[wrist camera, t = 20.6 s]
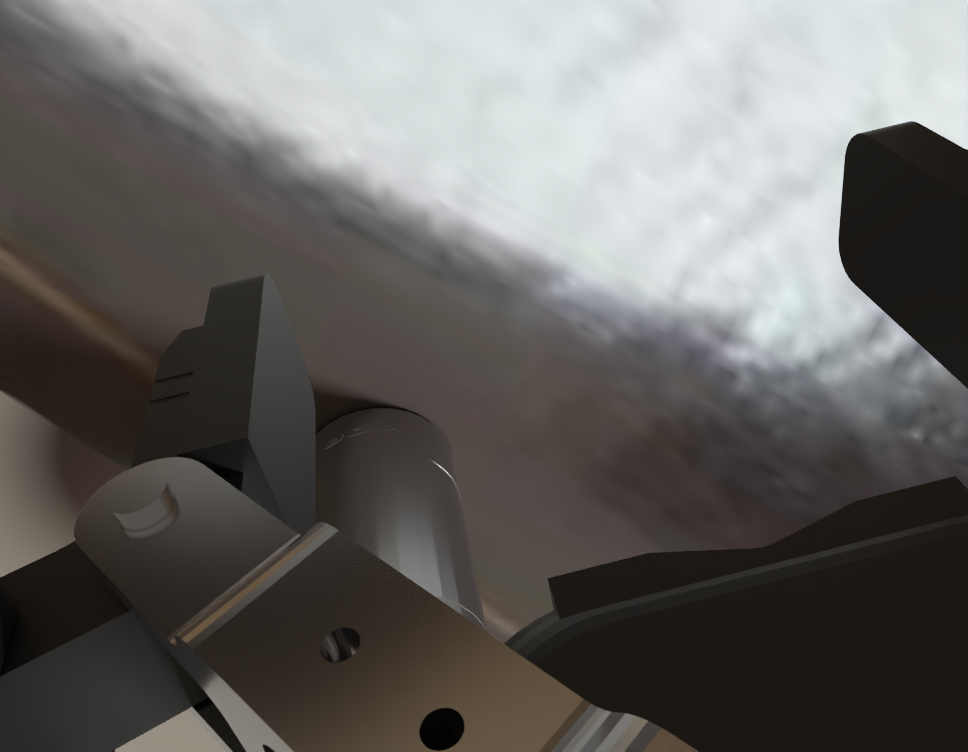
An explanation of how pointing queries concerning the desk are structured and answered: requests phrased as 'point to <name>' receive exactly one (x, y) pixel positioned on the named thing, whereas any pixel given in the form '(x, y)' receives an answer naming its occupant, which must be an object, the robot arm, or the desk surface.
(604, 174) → the desk surface
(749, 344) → the desk surface
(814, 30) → the desk surface
